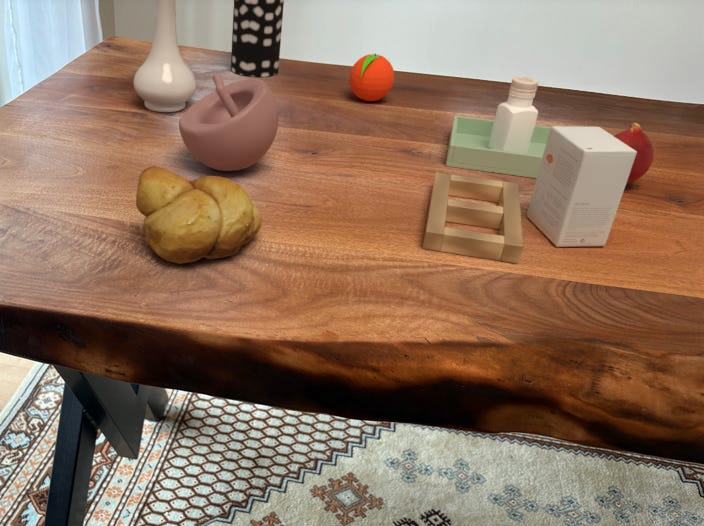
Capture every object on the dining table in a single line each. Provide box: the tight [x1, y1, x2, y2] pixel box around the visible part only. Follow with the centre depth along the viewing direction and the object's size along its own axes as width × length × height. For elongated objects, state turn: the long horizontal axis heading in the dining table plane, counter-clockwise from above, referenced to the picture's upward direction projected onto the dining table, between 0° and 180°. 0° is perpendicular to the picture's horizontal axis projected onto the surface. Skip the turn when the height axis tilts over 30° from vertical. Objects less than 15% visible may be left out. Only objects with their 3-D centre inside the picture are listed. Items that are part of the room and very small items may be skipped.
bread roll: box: [135, 165, 263, 264], centre depth 75 cm, size 13×10×8 cm
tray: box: [445, 114, 552, 179], centre depth 103 cm, size 15×13×3 cm
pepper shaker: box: [489, 76, 539, 154], centre depth 100 cm, size 4×4×10 cm
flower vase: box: [132, 0, 198, 113], centre depth 109 cm, size 13×18×25 cm
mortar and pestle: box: [178, 72, 279, 172], centre depth 93 cm, size 12×12×11 cm
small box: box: [526, 125, 637, 248], centre depth 82 cm, size 8×6×10 cm
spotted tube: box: [230, 0, 285, 78], centre depth 128 cm, size 8×8×20 cm
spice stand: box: [422, 171, 524, 265], centre depth 85 cm, size 10×17×2 cm, turn 164°
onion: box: [613, 122, 654, 185], centre depth 94 cm, size 6×6×8 cm
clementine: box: [349, 53, 395, 102], centre depth 120 cm, size 8×7×7 cm
